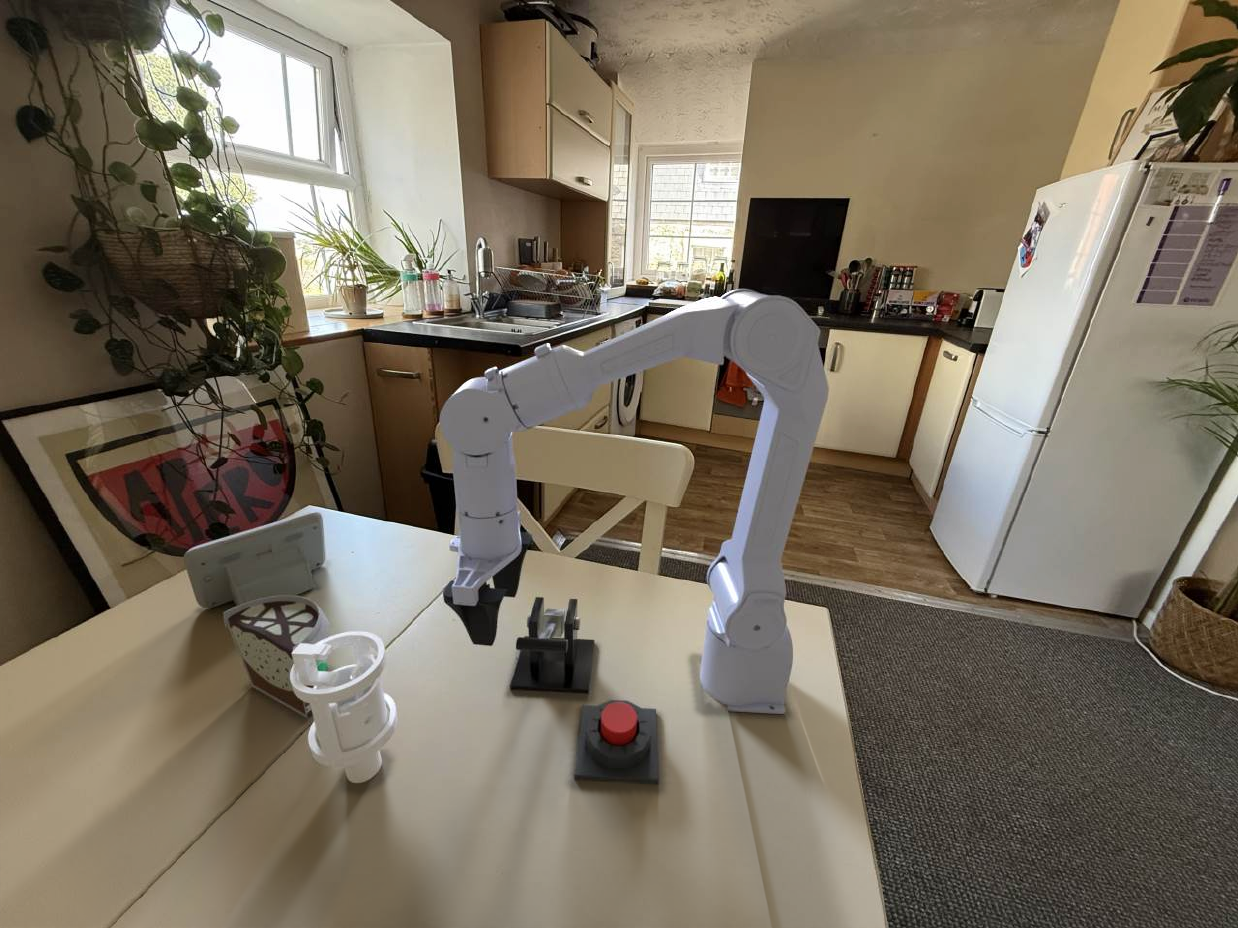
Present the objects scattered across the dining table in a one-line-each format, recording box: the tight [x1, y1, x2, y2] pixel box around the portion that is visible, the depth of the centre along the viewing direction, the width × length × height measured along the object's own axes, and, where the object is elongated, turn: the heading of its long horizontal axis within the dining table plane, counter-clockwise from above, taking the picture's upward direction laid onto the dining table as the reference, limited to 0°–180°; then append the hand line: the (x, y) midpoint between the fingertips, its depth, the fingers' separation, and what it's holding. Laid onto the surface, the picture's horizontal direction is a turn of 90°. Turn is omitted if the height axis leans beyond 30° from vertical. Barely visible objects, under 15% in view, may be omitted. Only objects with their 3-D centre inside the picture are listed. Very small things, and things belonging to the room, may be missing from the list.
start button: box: [601, 702, 637, 746], centre depth 49 cm, size 4×4×2 cm
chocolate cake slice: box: [222, 595, 330, 719], centre depth 55 cm, size 12×6×10 cm, turn 65°
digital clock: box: [183, 511, 327, 609], centre depth 69 cm, size 16×9×11 cm, turn 127°
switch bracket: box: [509, 596, 595, 695], centre depth 58 cm, size 8×9×9 cm
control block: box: [573, 699, 660, 785], centre depth 50 cm, size 8×8×3 cm
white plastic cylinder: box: [290, 630, 398, 784], centre depth 44 cm, size 7×7×15 cm
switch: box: [515, 608, 568, 652], centre depth 54 cm, size 10×5×2 cm, turn 178°
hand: (496, 617), depth 53 cm, fingers open, 7 cm apart
